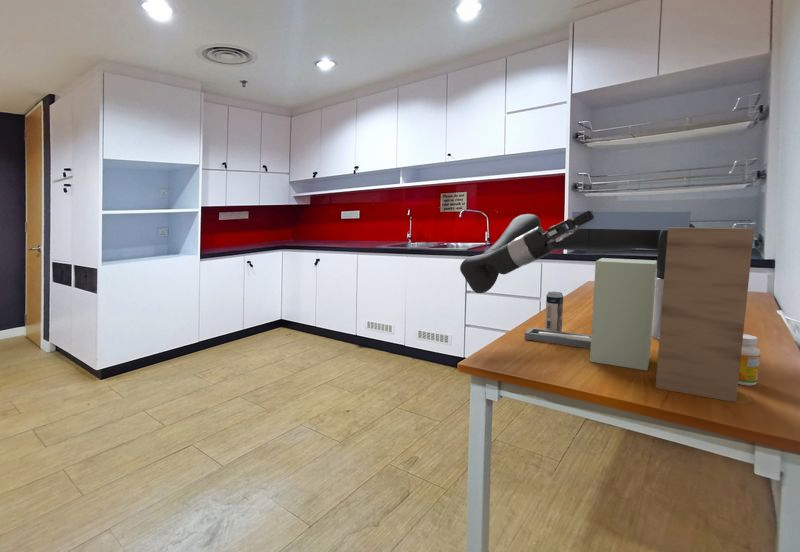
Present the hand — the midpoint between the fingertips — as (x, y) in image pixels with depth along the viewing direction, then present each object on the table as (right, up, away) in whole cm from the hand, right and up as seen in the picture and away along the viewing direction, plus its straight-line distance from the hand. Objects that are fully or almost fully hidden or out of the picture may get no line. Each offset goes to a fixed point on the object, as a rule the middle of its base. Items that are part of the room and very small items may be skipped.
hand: (593, 214), depth 106 cm
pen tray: (0, -33, +16) cm, 37 cm away
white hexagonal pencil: (0, -33, +17) cm, 37 cm away
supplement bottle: (+25, -37, -13) cm, 47 cm away
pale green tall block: (+7, -35, 0) cm, 36 cm away
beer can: (0, -32, +27) cm, 42 cm away
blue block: (+6, -4, -4) cm, 8 cm away
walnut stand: (+13, -37, -17) cm, 43 cm away
